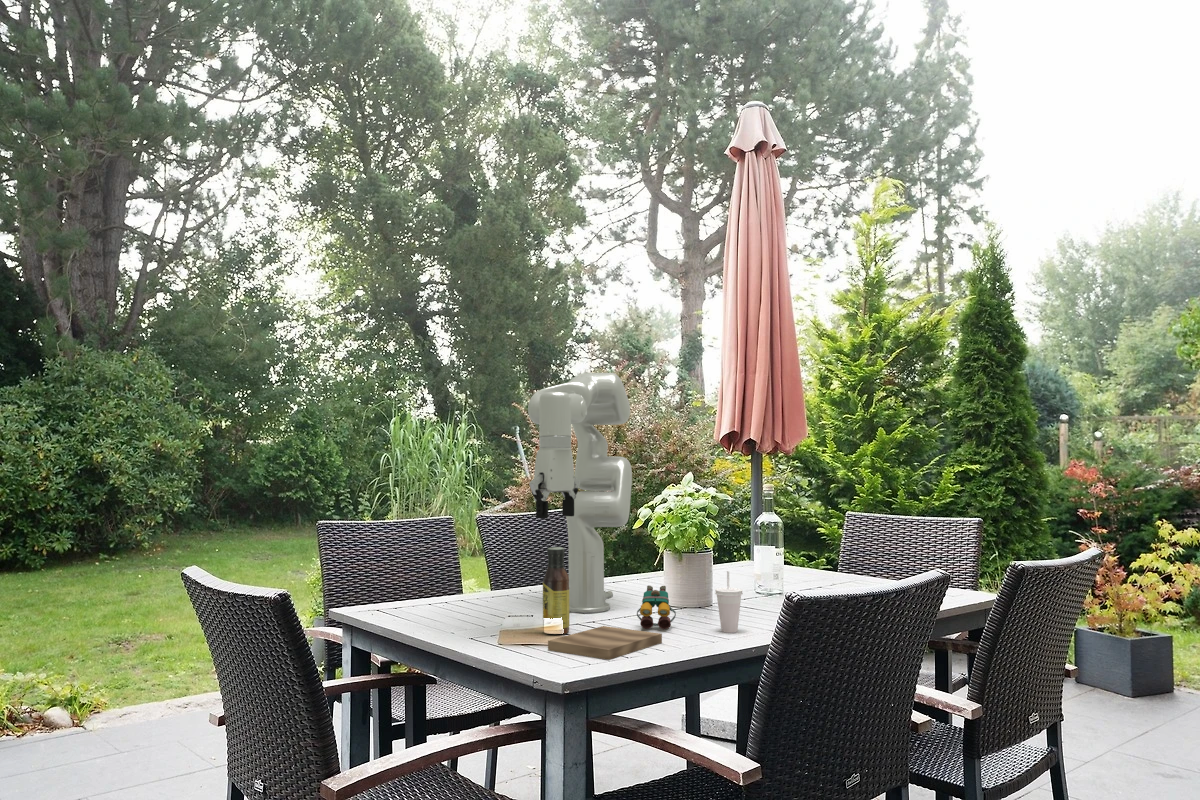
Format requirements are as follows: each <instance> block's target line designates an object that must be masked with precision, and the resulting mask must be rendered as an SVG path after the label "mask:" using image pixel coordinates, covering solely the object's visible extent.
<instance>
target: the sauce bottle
mask: <svg viewBox="0 0 1200 800" xmlns="http://www.w3.org/2000/svg"><path fill="white" fill-rule="evenodd" d="M565 553H566V552H565V548H564V547H562V546H553V547H548V548H547V554H546V555H547V568H546V571H545V574H544V577H543V580H542V619H543V618H550V619H551V618H552V619H553V618H561V617H562V620H563V629H564V635H566V634H568V633H569V632H570V612H569V573H568V572H567V571H566V569H565Z"/></svg>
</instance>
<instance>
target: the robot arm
mask: <svg viewBox="0 0 1200 800" xmlns="http://www.w3.org/2000/svg"><path fill="white" fill-rule="evenodd" d="M527 414H528V418H529V419H530V421H531V422H532V423H534V424H535V425H539V426H538V427H539V433H538V435H539V436H538V437H539V446H538V447H539V449H537V451H536V456H535V463H534V475H533V479H532V480H531V481H529V487H530V490H531V494H532V496H533V500H534V501H535V517H536V519H545V520H546V519H548V518H549V501H548V500H547V499H548V497H549V495H550V493H561V495H562V496H563V498H564V499H562V503H561V504H562V509H561V510H562V516H563V517H565V518H566V526H567V535H568V536H567V537H568V540H567V541H568V542H567V543H568V576H569V613H577V614H578V613H579V614H580V613H581V614H582V613H585V614H588V613H589V614H590V613H601V612H606V611H609V610H610V609H611V605H610V603H608V602H607V600H608V599H611V598H613V597H614V593H613V591H611V590H608V591H606V590H605V571H604V570H605V567H604V566H605V565H604V564H605V555H604V550H605V549H604V548H605V547H604V546H605V545H604V541H603V539H602V537H601V536H600V534H599V533H598V532H597V530H596V529H595V528H617V527H619V528H620V527H623V526H625V525H626V524H627V523H628V522H629V521H628V520H629V518H630V510H631V509H630V508H631V498H632V497H631V496H632V485H633V472H632V466H631V462H630V460H628V459H627V458H626V457H623V456H616V455H615V456H612V455H611V456H609V455H608V447H609V444H608V441H607V439H606V438H605V436H604V435H603V434H602V433H601V431H599V430H598V429H597V428H596V427H595V426H596V425H597V426H603V425H605V426H606V425H607V426H609V425H611V426H612V425H613V426H614V425H624V424H625V423H627V422H628V420H629V419H630V417H631V416H630V415H631V405H630V400H629V398H628V394H627V392H626V388H625V385H624V383H623V381H622V380H621V377H620V376H619V375H618V374H616V373H615V372H586V373H580V374H577V375H576V376H574V377H573V378H572V379H570V380H569V381H568V382H564V383H560V384H557V385H553V386H549V387H545V388H542V389H539V390H537V391H536V392H535V393H533V394H532V396H531V397H530V399H529V401H528V405H527ZM572 429H573V431H574V435H575V437H576V440H577V441H576V442H577V448H576V449H577V450H576V459H575V467H574V457H573V451H572ZM579 489H580V490H582V491H579Z"/></svg>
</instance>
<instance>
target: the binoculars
mask: <svg viewBox="0 0 1200 800" xmlns="http://www.w3.org/2000/svg"><path fill="white" fill-rule="evenodd" d="M666 589H667V586H666V585H661V586H660V587H659V590H657V589H654V588H653V586H652V585H647V586H646V591H644V592H643V597H642V600H641V603H642V604H641V605H640V607H639V608H638V609H637V611H636V616H637V618H638V619H639V621H640V622H639V623H640V627H641V628H642V629H644V630H650V629H652V628H653V627H654V626H655V627H659V628H660V629H662V630H668V629H670V628H671V626H672V622H673V621H674V620H675V618H676V614H677V612H676V611H675V610H674V608H673V607H672V605H670V600H669V593H668V592H667V591H666ZM655 607H657V615H658V616H660V617H659V618H658V621H657V623H656V622H655V623H654V620H653V619H654V618H653V617H652V615H653V608H655ZM671 612H673V613H674V615H673V617H672V618H670V617H669V616H670V614H671ZM639 613H640V615H641V616H642V617H641V616H640V615H639Z"/></svg>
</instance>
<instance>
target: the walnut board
mask: <svg viewBox="0 0 1200 800" xmlns="http://www.w3.org/2000/svg"><path fill="white" fill-rule="evenodd" d="M662 643H663V633H661V632H660V633H659V632H652V631H644V630H639V629H638V630H637V629H629V628H622V627H620V628H619V627H614V626H606V625H602V626H597V627H594V628H591V629H587V630H583V631H580V632H575V633H572V634H568V635H563V636H560V637H556V638H553V639H550V640H548V641H547V650H548V651H552V652H558V653H563V654H571V655H577V656H583V657H588V658H595V659H600V660H601V659H602V660H607V661H609V660H613V659H615V658H616V659H617V658H619V657H621V656H625V655H628V654H631V653H635V652H638V651H641V650H643V649H644V650H645V649H647V648H650V647H653V646H656V645H660V644H662Z"/></svg>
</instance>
